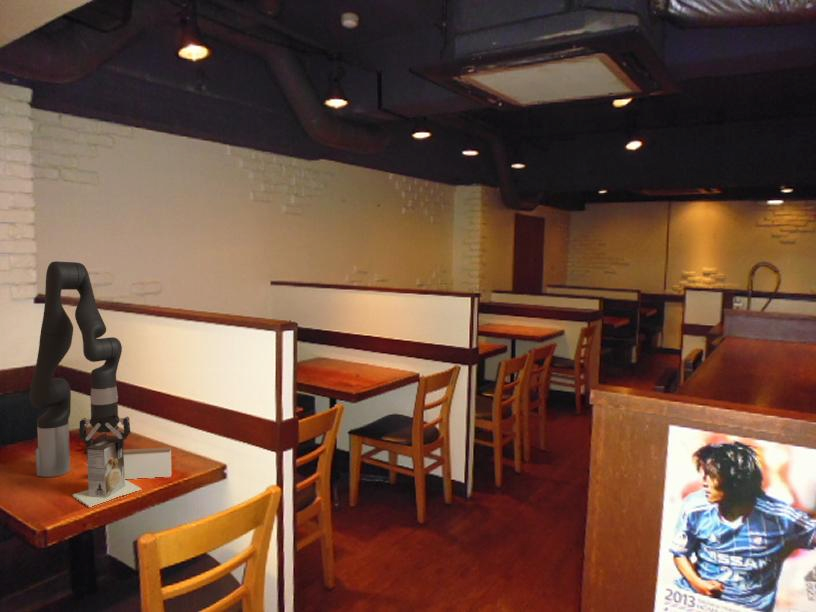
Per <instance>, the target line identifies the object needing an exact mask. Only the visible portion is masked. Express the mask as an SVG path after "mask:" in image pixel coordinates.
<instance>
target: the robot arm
mask: <svg viewBox="0 0 816 612" xmlns="http://www.w3.org/2000/svg"><path fill="white" fill-rule="evenodd" d="M45 275H46V276H45V296H44V308H43V315H42V322H41V327H40V328H41V329H40V334H39V335H40V336H39V342H38V344H39V346H38V352H37V358H36V362H35V368H34V372H33V375H32V379H31V382H30V387H29V388H30V389H29V401H30V403H31V405H32V406H33V407H34V408H36V409H38V410H39V409H40V410H41V409H46V408H47V410H45V412H44V413H43V414H41V415H40V416H39V417H38V418H37V420H36V427H37V428H36V429H37V430H36V431H37V432H36V433H37V448H36V449H35V464H36V476H37V477H44V478H53V477H59V476H62V475H65V474H67V473H69V472H71V452H70V451H71V450H70V446H71V445H70V429H69V428H70V427H69V426H70V425H69V424H70V423H69V418H70V416H71V403H72V402H71V401H72V398H71V397H72V393H71V386H70V384H69V382H68V381H67V379H65V378H63V377H54V374H55V372H56V370H57V368H58V366H59V365H60V363H61V362H62V360H63V359H64V358H65V356H66V355H67V353H68V352H69V351H70V348H71V346H72V341H73V336H74V325H73V323H72V320H71V319H70V316H69V315H68V314H67V312H66V311H65V309H64V306H63V304H62V299H61V298H62V297H61V296H62V290H67V291H68V290H71V291H72V290H74V291H75V290H76V291H77V293H78V294H79V300H78V303H77V306H76V307H75V312H74V319H75V321H76V325H77V326H78V329H79V331H80V333H81V338H82V348H83V349H82V350H83V355H84V358H85V359H86V360H87V361H89V362H92V363H96V362H103V361H104V363H103V365H101V366H99V367H96V368H94V369H92V370H91V371H90V419H87V418H86V417H83V418H82V419H81V420H80V421H79V432H78V434H79V435H78V437H79V440H82V439H83V440H84V439H85V440H86V444H85V445H86V447H85V448H86V449H87V447H89V446H91V445H93V439H94V438H93V437H94V436H95V434H96V433H98V434H101V433H102V434H103V433H110V432H111V433H112V434H113V435H114V436H117V437H118V450H121V449H122V448H123V449H124V446H125V440H124V437H129V435H130V434H131V424H130V423H131V422H130V417H129V416H126V417H119V405H118V404H119V403H118V402H119V401H118V400H119V395H118V394H119V393H118V388H117V372H118V371H117V370H118V366H119V362H120V361H121V360H120V359H121V356H122V352H123V346H122V343H121V341H120V339H118V338H117V337H104V338H103V336H104V335H105V334H106V332H107V326H106V324H105V322H104V319H103V318H102V316H101V313H100V311H99V309H98V306H97V303H96V302H97V301H96V299H95V294H94V291H93V286H92V283H91V278H90V275H89V272H88V270H87V268H86V266H85V264H83V263H80V262H74V261H57V260H56V261H52V262H50V263H49V264H48V266H47V269H46V274H45ZM101 337H102V338H101ZM119 423H120V424H121V425H123V431H122V430H121V427H119V425H118V424H119ZM89 424H90V426H91V427H92V429H91V430H90V431H89V433H87V426H89ZM86 449H85V450H86Z"/></svg>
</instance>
